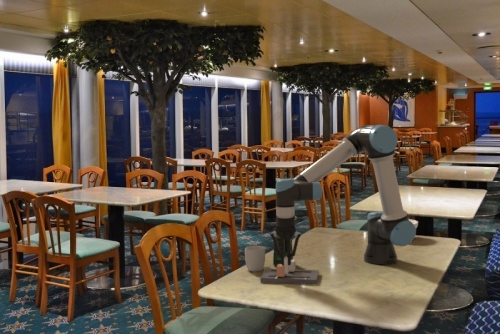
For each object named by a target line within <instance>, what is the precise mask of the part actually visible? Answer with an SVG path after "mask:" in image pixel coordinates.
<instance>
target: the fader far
mask: <svg viewBox="0 0 500 334" xmlns="http://www.w3.org/2000/svg"><path fill="white" fill-rule="evenodd" d="M288 267H289V272H294V271H295V270H296V259H294V258H293V259H291V265H288Z"/></svg>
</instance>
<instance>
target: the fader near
mask: <svg viewBox="0 0 500 334" xmlns="http://www.w3.org/2000/svg"><path fill="white" fill-rule="evenodd" d="M276 269H277V277H284V276H285V274H284V265H282V264H278V265H277V267H276Z"/></svg>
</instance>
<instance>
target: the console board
mask: <svg viewBox="0 0 500 334" xmlns="http://www.w3.org/2000/svg"><path fill="white" fill-rule="evenodd" d="M319 271H320V270H319V269H295V271H294V272H288V274H285V276H284V277H277V268H265V270H264V271H263V273H262V274H261V276H260V279H259V280H260V284H262V283H263V284H283V285H285V284H286V285H287V284H289V285H312V284H316V285H317V284H318V280H319V275H320V273H319Z"/></svg>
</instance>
